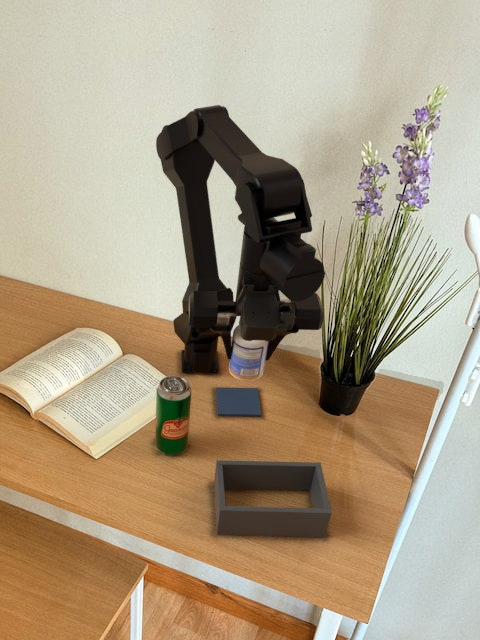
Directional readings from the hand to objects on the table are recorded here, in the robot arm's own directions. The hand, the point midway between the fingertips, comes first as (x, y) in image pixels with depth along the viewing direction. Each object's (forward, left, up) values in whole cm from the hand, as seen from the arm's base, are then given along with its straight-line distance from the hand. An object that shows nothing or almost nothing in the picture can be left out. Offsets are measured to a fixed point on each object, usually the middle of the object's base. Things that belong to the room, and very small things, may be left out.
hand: (247, 358), depth 105 cm
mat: (-3, 0, -11) cm, 11 cm away
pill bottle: (0, 0, -3) cm, 3 cm away
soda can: (+8, -11, -11) cm, 18 cm away
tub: (+21, +2, -11) cm, 24 cm away
